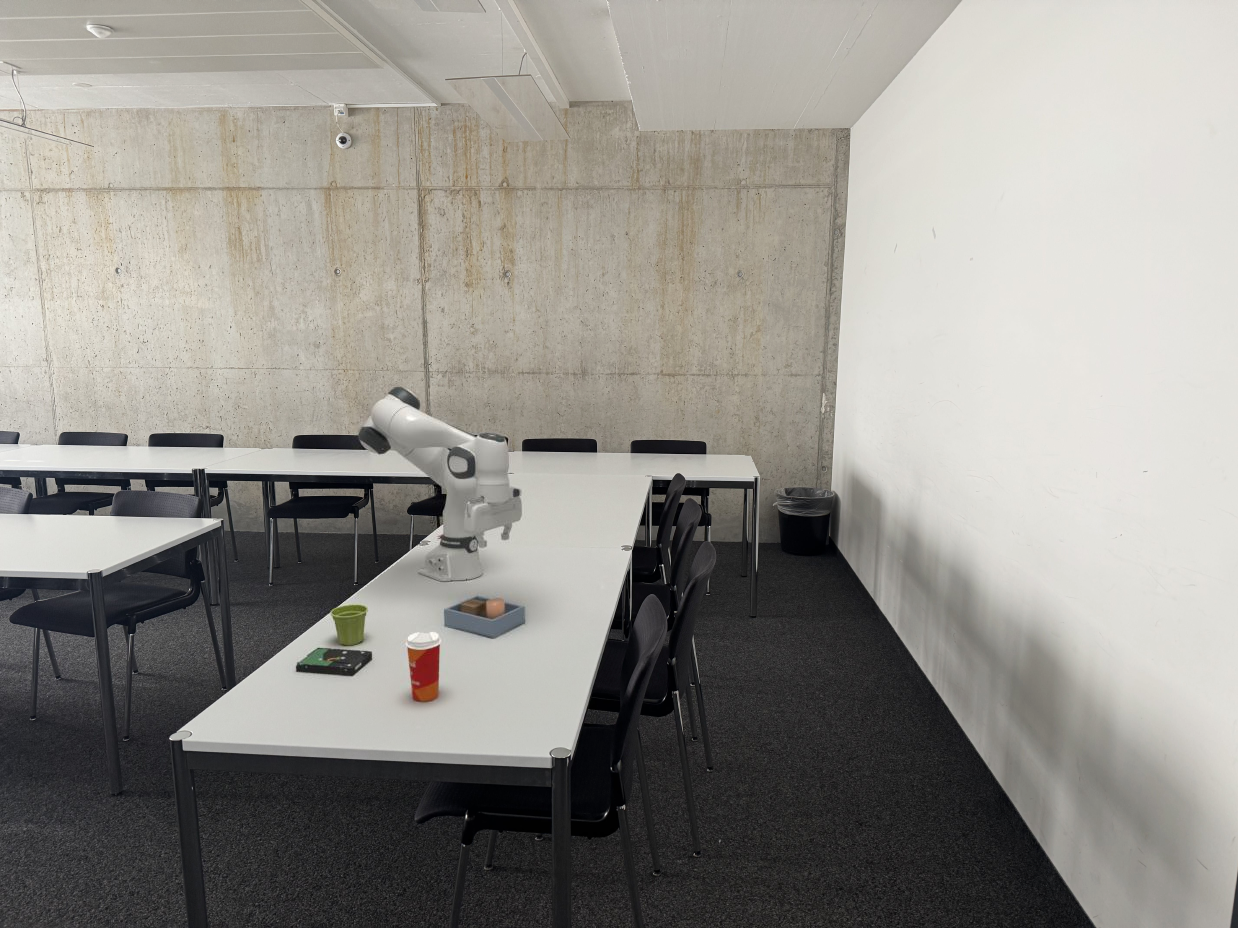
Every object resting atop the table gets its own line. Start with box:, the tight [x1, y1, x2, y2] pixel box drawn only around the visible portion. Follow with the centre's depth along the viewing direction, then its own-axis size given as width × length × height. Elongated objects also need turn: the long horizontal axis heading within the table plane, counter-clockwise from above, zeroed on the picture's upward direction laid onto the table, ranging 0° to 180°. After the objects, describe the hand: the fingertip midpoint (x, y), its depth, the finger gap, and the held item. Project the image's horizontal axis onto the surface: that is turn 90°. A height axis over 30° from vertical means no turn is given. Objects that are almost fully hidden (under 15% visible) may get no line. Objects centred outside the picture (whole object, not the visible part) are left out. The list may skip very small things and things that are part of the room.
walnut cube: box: [461, 599, 487, 618], centre depth 220 cm, size 5×5×5 cm
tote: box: [443, 595, 526, 640], centre depth 218 cm, size 18×14×5 cm
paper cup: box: [405, 631, 442, 703], centre depth 174 cm, size 8×8×14 cm
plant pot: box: [329, 604, 369, 646], centre depth 206 cm, size 9×9×9 cm
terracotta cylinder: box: [486, 598, 506, 620], centre depth 216 cm, size 5×5×7 cm
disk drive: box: [295, 647, 373, 677], centre depth 191 cm, size 10×3×15 cm
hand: (494, 543), depth 213 cm, fingers open, 8 cm apart
